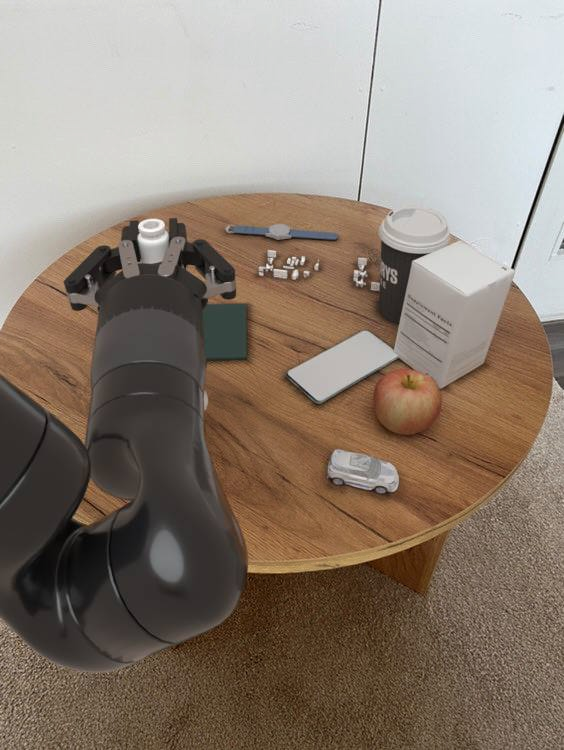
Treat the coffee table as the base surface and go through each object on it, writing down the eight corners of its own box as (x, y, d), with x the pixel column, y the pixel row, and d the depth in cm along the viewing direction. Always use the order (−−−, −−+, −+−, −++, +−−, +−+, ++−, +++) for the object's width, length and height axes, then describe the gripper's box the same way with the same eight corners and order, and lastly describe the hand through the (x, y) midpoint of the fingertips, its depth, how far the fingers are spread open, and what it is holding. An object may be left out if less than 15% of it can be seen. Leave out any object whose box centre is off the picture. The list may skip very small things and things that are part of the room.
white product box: (435, 329, 84) (460, 237, 74) (484, 364, 79) (519, 270, 68) (390, 353, 80) (410, 258, 70) (439, 391, 75) (468, 295, 64)
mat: (143, 362, 79) (142, 359, 78) (153, 308, 87) (152, 305, 87) (246, 359, 79) (246, 357, 79) (246, 306, 88) (246, 303, 87)
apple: (358, 430, 70) (364, 383, 65) (384, 390, 75) (393, 343, 70) (420, 457, 67) (433, 411, 62) (444, 413, 72) (458, 367, 67)
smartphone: (283, 373, 76) (366, 328, 83) (283, 375, 77) (365, 331, 83) (317, 403, 72) (401, 354, 79) (317, 406, 73) (401, 357, 79)
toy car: (396, 498, 63) (400, 482, 61) (324, 483, 65) (326, 467, 63) (399, 471, 66) (403, 455, 64) (330, 457, 67) (332, 441, 65)
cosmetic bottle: (205, 424, 62) (182, 243, 47) (148, 424, 62) (107, 243, 47) (210, 384, 66) (191, 207, 51) (157, 384, 66) (122, 206, 51)
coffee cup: (398, 284, 92) (413, 195, 81) (446, 313, 87) (468, 222, 76) (355, 307, 88) (365, 217, 77) (402, 339, 82) (420, 247, 72)
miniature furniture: (269, 251, 98) (269, 244, 97) (419, 271, 94) (420, 263, 93) (259, 275, 93) (258, 267, 92) (416, 297, 89) (417, 289, 88)
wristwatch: (227, 224, 105) (226, 219, 104) (338, 232, 103) (338, 227, 102) (222, 237, 102) (222, 232, 101) (337, 245, 100) (337, 240, 99)
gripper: (249, 303, 38) (230, 184, 51) (29, 320, 37) (64, 193, 49) (252, 384, 44) (234, 258, 56) (59, 401, 42) (85, 268, 54)
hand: (154, 228), depth 52 cm, fingers closed on cosmetic bottle, 3 cm apart
